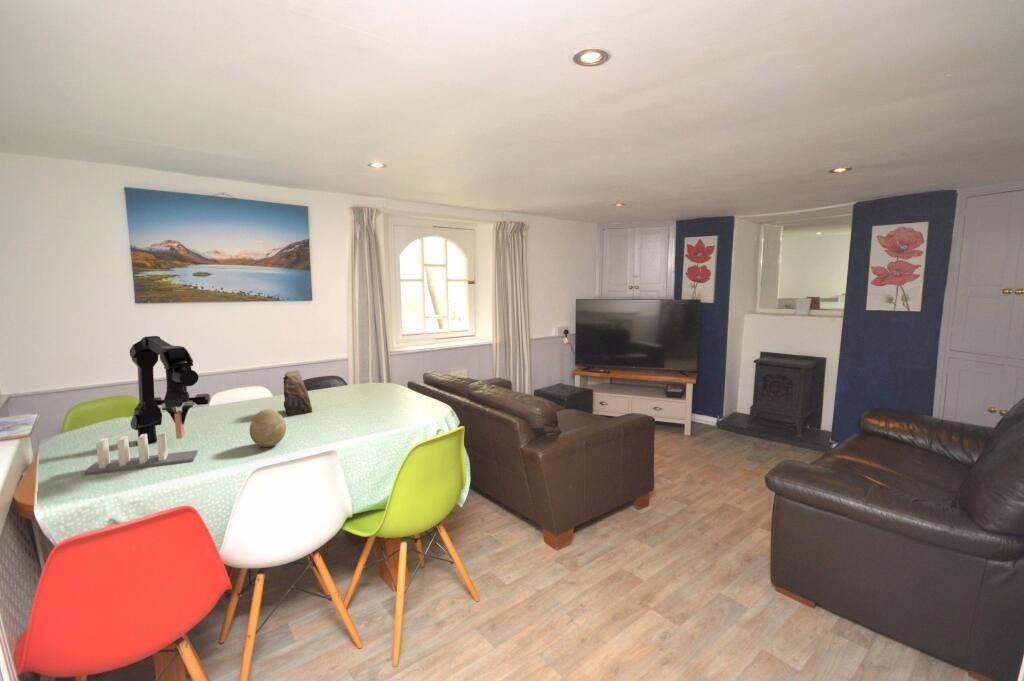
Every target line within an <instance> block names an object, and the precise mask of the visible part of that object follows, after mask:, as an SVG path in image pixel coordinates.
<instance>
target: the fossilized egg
mask: <svg viewBox="0 0 1024 681" xmlns="http://www.w3.org/2000/svg"><path fill="white" fill-rule="evenodd" d="M286 425H287V424H286V421H285V419H284V417H283V416H282V415H281V414H280V413H279V412H278V411H276V410H275V409H272V408H265V409H262V410H260V411H259V412H258V413H257V414H256V415H255V416H254V417H253V419H252V420H251V422H250V426H249V435H250V436H249V437H250V439H252V442H254V443H255V445H257V446H260V447H264V448H270V447H273V446H276V445H277V444H279V443H280V442H281V441H282V440H283V438H284V437H285V435H286V430H287V426H286Z"/></svg>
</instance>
